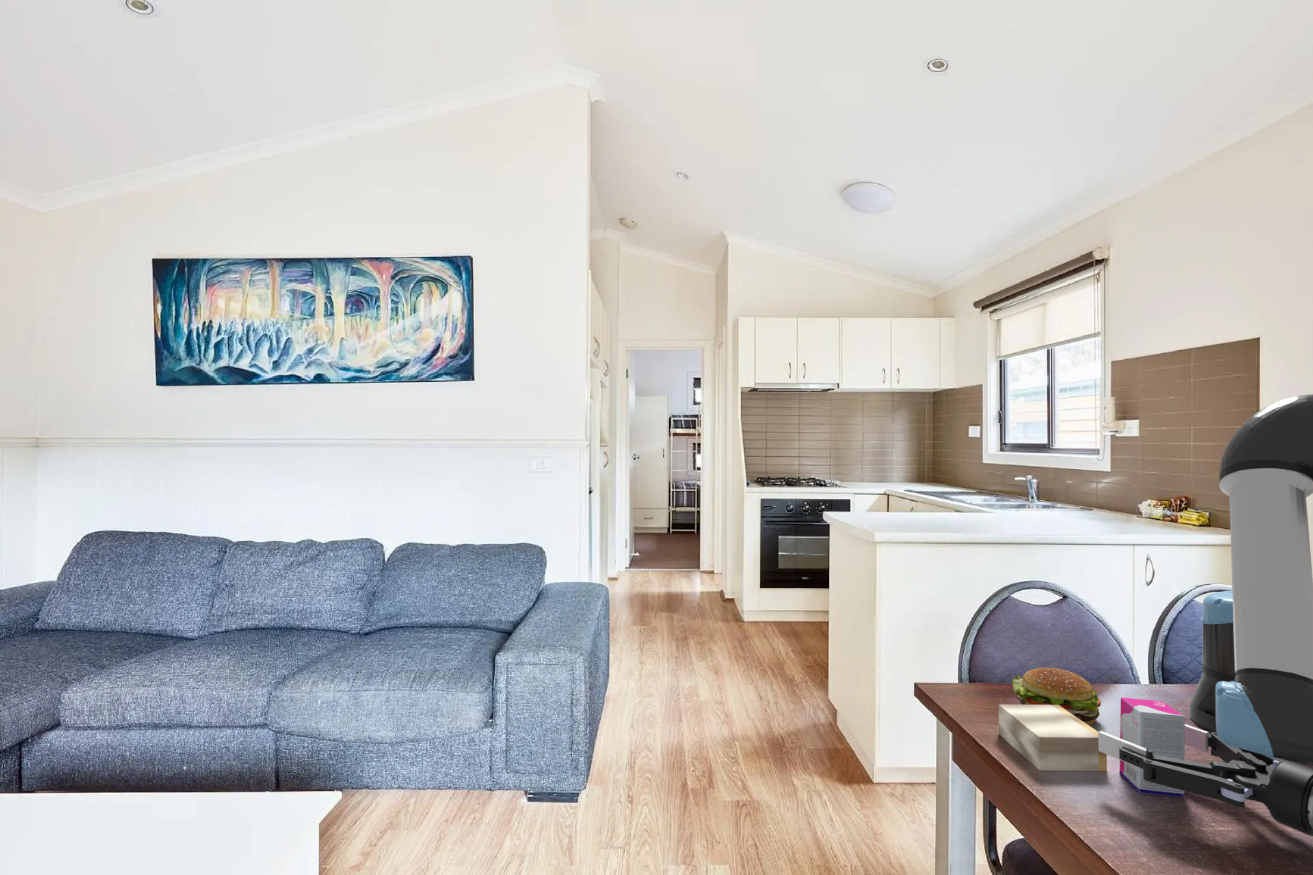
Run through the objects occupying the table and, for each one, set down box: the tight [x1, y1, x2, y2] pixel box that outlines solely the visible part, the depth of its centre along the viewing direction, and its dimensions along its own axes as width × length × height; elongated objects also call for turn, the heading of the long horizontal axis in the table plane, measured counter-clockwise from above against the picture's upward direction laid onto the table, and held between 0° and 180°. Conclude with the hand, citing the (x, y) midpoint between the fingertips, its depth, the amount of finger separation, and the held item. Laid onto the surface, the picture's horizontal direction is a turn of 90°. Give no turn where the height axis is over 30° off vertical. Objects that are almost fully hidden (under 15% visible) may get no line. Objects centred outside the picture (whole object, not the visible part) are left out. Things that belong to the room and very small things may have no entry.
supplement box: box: [1119, 696, 1186, 798], centre depth 93 cm, size 6×6×12 cm
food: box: [1011, 667, 1102, 727], centre depth 117 cm, size 14×14×8 cm
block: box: [998, 704, 1108, 772], centre depth 103 cm, size 12×10×5 cm
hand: (1128, 731), depth 96 cm, fingers open, 13 cm apart
